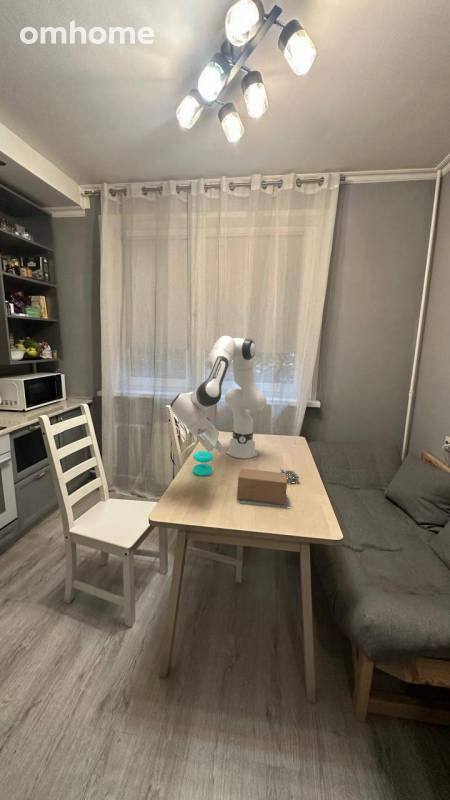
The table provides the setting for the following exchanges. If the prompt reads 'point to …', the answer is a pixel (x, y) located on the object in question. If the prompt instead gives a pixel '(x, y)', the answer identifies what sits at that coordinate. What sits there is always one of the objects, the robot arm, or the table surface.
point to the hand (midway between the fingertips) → (222, 450)
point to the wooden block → (262, 486)
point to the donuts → (203, 458)
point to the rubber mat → (265, 503)
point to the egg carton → (291, 476)
